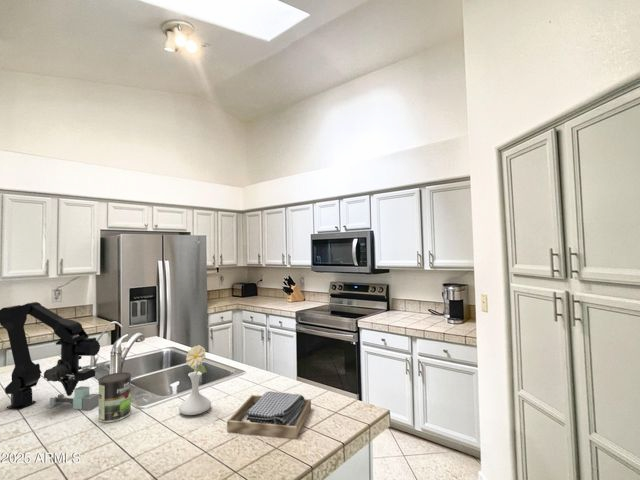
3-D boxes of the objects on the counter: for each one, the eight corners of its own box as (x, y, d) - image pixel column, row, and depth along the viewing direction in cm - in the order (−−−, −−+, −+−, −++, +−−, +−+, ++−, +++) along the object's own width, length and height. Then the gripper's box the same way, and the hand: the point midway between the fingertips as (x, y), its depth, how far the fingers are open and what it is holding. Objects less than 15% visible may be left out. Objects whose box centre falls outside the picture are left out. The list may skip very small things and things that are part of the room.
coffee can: (137, 410, 128) (137, 372, 128) (115, 424, 118) (115, 383, 118) (114, 408, 130) (114, 371, 130) (90, 421, 120) (91, 381, 120)
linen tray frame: (227, 432, 111) (227, 421, 112) (252, 404, 132) (251, 394, 132) (296, 438, 107) (296, 427, 107) (311, 408, 127) (310, 399, 127)
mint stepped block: (72, 408, 130) (73, 389, 130) (82, 404, 134) (82, 385, 134) (81, 409, 129) (81, 390, 129) (90, 404, 133) (90, 386, 133)
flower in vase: (173, 411, 126) (173, 344, 127) (202, 401, 135) (201, 338, 136) (189, 423, 118) (189, 350, 118) (219, 411, 126) (218, 343, 127)
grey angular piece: (46, 408, 131) (46, 396, 131) (63, 400, 138) (63, 389, 138) (86, 412, 127) (86, 400, 127) (101, 403, 134) (101, 392, 134)
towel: (306, 412, 125) (305, 390, 125) (285, 438, 107) (285, 413, 108) (269, 406, 130) (268, 386, 130) (243, 431, 112) (243, 407, 112)
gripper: (29, 360, 127) (28, 402, 127) (70, 363, 124) (70, 406, 123) (58, 351, 138) (57, 390, 138) (96, 354, 134) (96, 394, 134)
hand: (69, 395), depth 133 cm, fingers closed
